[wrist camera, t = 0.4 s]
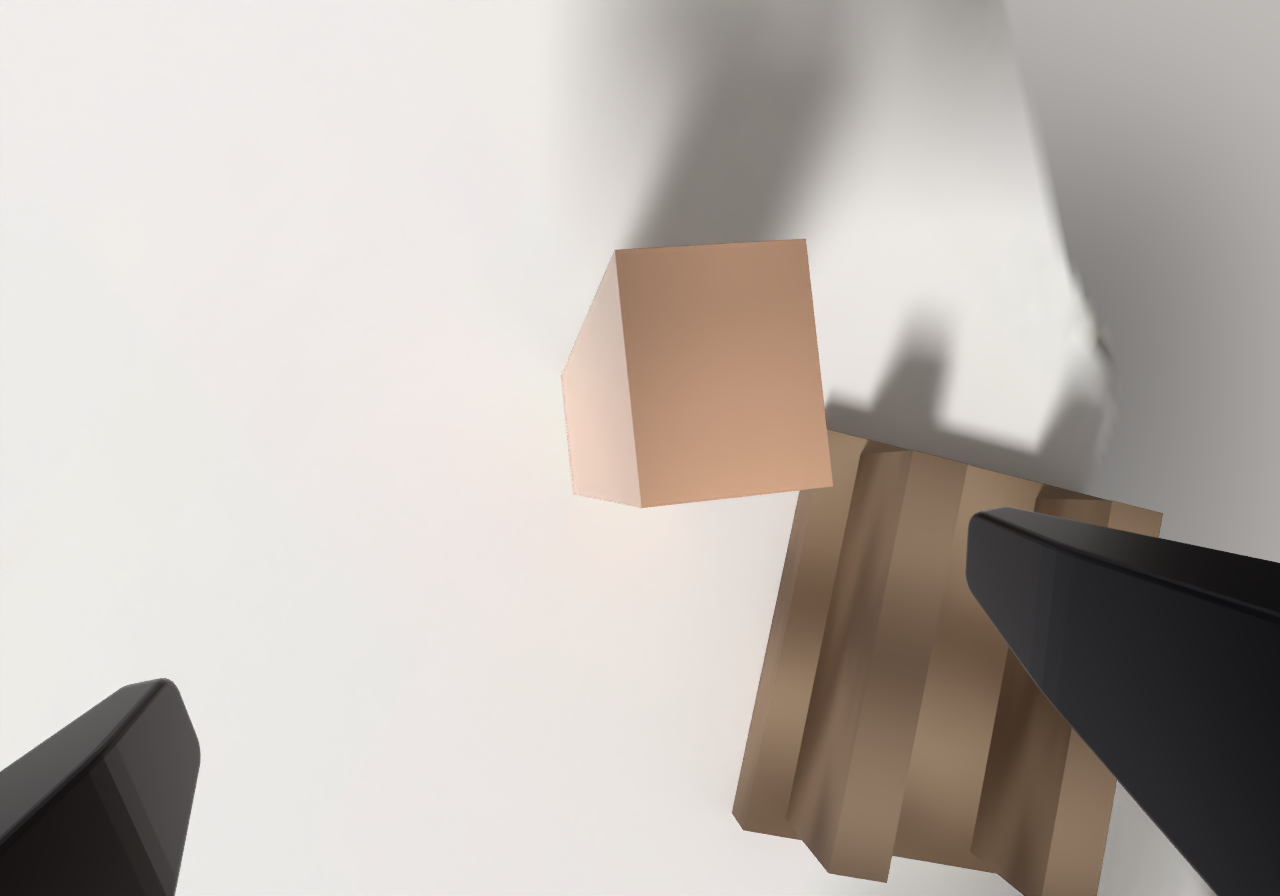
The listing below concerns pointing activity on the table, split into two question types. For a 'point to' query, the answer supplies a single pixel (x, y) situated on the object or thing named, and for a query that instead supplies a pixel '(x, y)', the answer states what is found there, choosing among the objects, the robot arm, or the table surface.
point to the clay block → (698, 377)
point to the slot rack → (917, 687)
